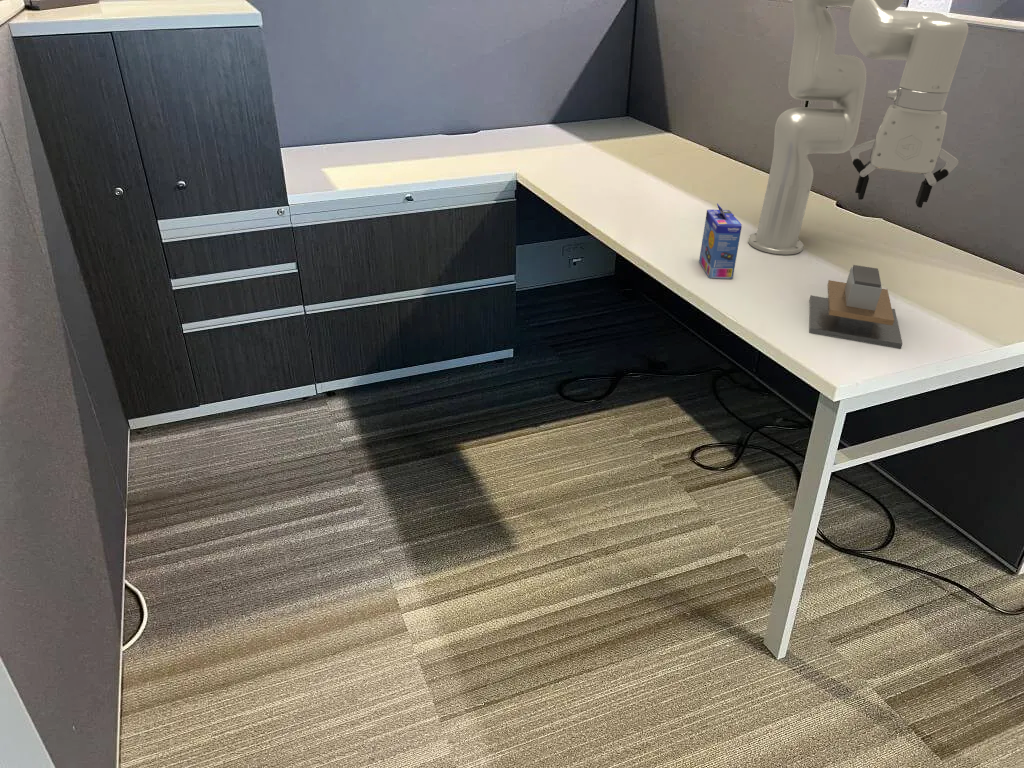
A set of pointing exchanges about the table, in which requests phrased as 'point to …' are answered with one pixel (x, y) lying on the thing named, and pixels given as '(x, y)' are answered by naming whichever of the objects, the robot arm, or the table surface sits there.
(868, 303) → the block
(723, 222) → the ink cartridge box
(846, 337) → the cardboard on grey plate
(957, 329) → the table surface
